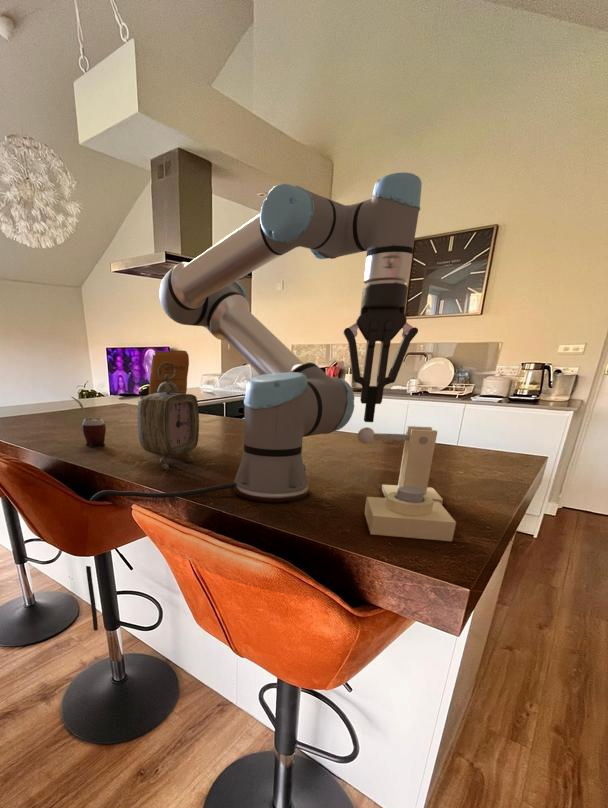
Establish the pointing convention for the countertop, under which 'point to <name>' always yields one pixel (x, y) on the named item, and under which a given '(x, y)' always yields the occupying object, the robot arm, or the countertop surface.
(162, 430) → the tabletop clock
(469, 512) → the countertop surface
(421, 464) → the bracket
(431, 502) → the cream rectangular base
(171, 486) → the countertop surface
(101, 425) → the mate gourd
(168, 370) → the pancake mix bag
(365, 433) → the flush lever
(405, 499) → the grey round button
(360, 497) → the countertop surface
